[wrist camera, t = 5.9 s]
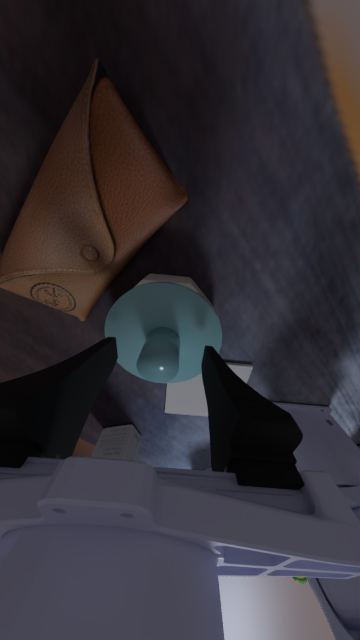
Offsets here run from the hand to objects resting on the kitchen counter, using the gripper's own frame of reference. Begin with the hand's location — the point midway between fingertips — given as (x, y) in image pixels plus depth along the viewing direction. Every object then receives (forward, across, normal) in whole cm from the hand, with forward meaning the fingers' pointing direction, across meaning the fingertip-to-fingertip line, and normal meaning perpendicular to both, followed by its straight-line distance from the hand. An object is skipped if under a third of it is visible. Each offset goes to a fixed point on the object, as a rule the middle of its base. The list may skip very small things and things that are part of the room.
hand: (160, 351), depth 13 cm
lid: (+3, 0, 0) cm, 3 cm away
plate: (+6, -6, +11) cm, 14 cm away
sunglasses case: (+7, +7, -8) cm, 12 cm away
